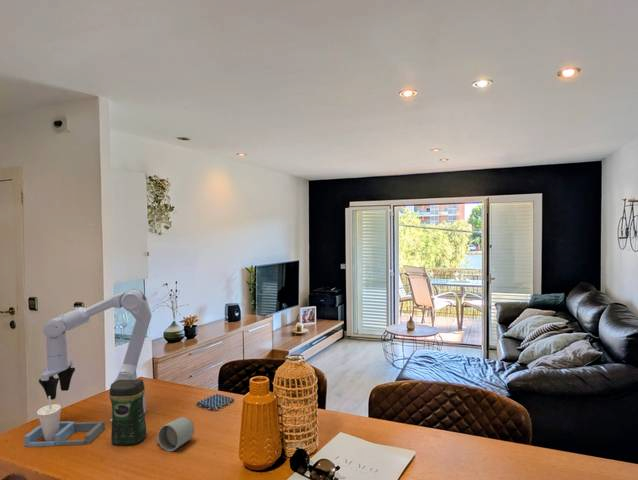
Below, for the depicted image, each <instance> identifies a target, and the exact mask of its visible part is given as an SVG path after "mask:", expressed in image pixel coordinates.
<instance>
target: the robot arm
mask: <svg viewBox="0 0 638 480" xmlns="http://www.w3.org/2000/svg"><path fill="white" fill-rule="evenodd" d="M111 308H116V309H121V308H123V309H124V310H125V311H127V312H129V313H131V315H132V317H133V318H134V319H135V322H134V326H133V329H132V332H131V335H130V339H129V343H128V346H127V349H126V352H125V355H124V359H123V362H122V365H121V368H120V370H119V373H118V375H117V377H116V378H115V379H114V381H113V383H114V382H115V381H117V380H137V378H138V376H137V368H138V363H139V360H140V358H141V357H140V356H141V353H142V349H143V345H144V343H145V339H146V336H147V332H148V331H149V330H148V329H149V327H150V323H151V319H152V311H151V309H150V305H149V303H148V298H147V296H146V295H145V294H144V292H143V291H142V290H140V289H138V288H131V289H129V290H127V291H122V292H120V293H116V294H114V295H112V296H109V297H107V298H105V299H102V300H101V301H99V302H97V303H95V304H93V305H91V306H89V307H83V306H79V307H77V306H75V307H72V309H71V310H70V311H68V312H66V313H60V314H58V315H57V317H54V318H51V319H50V320H48V321H47V322H45V324H44V325H43V328H42V331H43V334H44V335H45V338H46V342H45V343H46V365H47V366H46V367H44V368H43V371H44V372H43V373H41V374H40V378H39V379H38V383H39V384H40V385H41V387H42V388H43V390H44V392H45V393H44V394H46V398H47V400H48V401H49V399H48V396H50V397H51V401H52V400H56V397H57V388H58V384H59V386H60V390H61V392H65V391H67V392H68V391H69V390H70V385H71V381H72V377H73V375H74V373H75V371H76V367H73V360H68V350H67V349H68V348H67V331H71V330H73V329H75V328H78V327H80V326H82V325H84V324H87V323H88V322H89V321H90V319H91V317H92V316H95V315H97V314H99V313H103V312H104V311H107V310H110V309H111ZM56 375H57V376H58V377H57V378H56V377H54V376H56ZM143 409H144V414H146V412H147V409H146V394H145V392H144V395H143ZM109 422H111V423H112V418H111V419H110V420H109Z"/></svg>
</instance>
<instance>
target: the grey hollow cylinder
mask: <svg viewBox="0 0 638 480" xmlns="http://www.w3.org/2000/svg"><path fill="white" fill-rule="evenodd" d="M194 434H195V426H194V423H193V422H192V420H191V419H190V418H188V417H186V416H181V417H178V418H176V419H174V420H172V421H170V422H168V423H165V424H164V425H161V427H160V428H159V431H158V433H157V438H156V443H157V445H160V447H161V448H162V449H163V450H164V451H166V452H174V451H175V450H177V449H178V448H180V447H181V446H182V445H184V444H186V443H187V442H188V441H190V439H192V438H193V436H194Z"/></svg>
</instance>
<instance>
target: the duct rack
mask: <svg viewBox="0 0 638 480" xmlns="http://www.w3.org/2000/svg"><path fill="white" fill-rule="evenodd" d="M105 424H106V423H105V421H83V422H82V421H81V422H80V421H79V422H78V421H71V420H68V421H67V420H66V421H64V420H63V421H62V420H61V421H60V423H59V432H58V433H57V434H55V435H54V439H55V440H54V441H45V440H44V441H38V440H39V439H40V438H42V437H44V435H43V431H42V427H41V424H39V425H37V426H36V427H34V429H32V430H31V431H30V432H28V433H27V434H26V435H24V436H23V438H24V439H23V441H24V447H28V448H30V447H31V448H34V447H54V446H62V447H63V446H81V445H82V446H84V445H88V444H89V445H90V444H91V443H92V442H93V441H94V440H95V439H96V438H97V437H99V435H100V434H102V432H104V431H105V430H106V425H105ZM75 432H77V433H78V432H79V433H80V432H87V433H86V434H85V435H84V439H73V440H72V439H70V440H67V439H68V438H69V437H71V436H72V435H73V434H74V433H75Z"/></svg>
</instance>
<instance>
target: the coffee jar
mask: <svg viewBox="0 0 638 480" xmlns="http://www.w3.org/2000/svg"><path fill="white" fill-rule="evenodd" d="M114 381H115V380H114ZM114 381H113V382H112V383H110V387H109V400H110V403H111V410H112V411H111V416H112V417H111V419H112V422H111V435H110V437H111V438H110V439H111V440H110V441H111V443H112V444H113V445H117V446H119V445H120V446H123V445H124V446H125V445H127V446H128V445H136V444H138V443H139V442H141V441H143V440H144V439H145V437H146V436H147V426H146V425H147V424H146V419H145V413H144V409H143V395H144V393H145V392H146V391H145V390H146V389H145V383H144V380H143V379H142V378H140V379H136V380H117V381H115V382H114Z"/></svg>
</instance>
